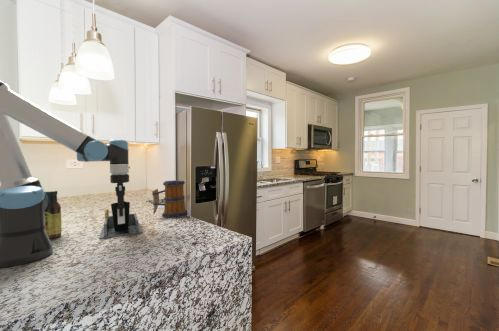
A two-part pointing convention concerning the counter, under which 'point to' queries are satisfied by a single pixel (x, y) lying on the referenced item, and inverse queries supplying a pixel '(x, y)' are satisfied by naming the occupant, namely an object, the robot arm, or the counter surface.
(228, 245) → the counter surface
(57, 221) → the sauce bottle
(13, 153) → the robot arm
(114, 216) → the cup
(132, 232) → the tray
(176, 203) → the mug
